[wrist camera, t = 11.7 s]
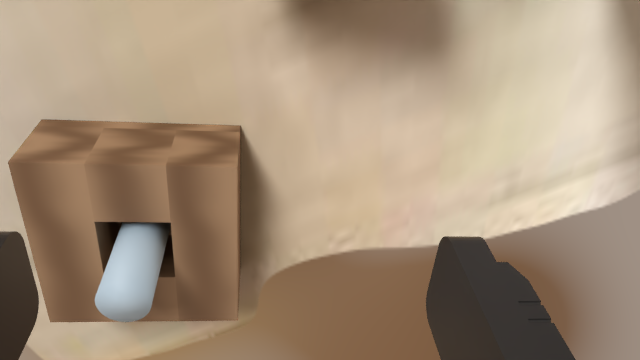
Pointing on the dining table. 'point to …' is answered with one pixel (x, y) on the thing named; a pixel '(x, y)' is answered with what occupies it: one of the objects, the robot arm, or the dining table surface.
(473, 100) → the dining table surface
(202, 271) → the socket block
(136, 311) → the dowel
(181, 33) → the dining table surface
